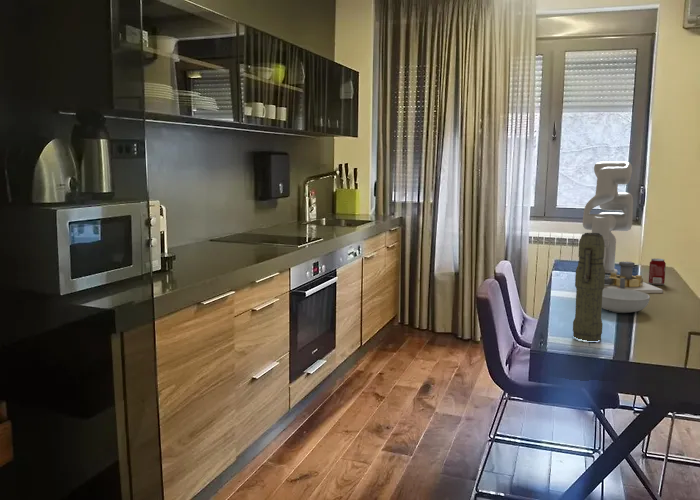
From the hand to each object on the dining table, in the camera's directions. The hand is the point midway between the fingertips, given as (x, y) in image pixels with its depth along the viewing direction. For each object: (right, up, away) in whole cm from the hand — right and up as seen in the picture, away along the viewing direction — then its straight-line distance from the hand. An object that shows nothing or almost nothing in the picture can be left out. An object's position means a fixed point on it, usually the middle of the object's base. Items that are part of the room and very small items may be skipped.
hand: (598, 282), depth 275 cm
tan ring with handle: (+7, -1, -2) cm, 7 cm away
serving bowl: (-10, -9, -43) cm, 45 cm away
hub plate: (+12, -3, -1) cm, 12 cm away
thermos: (-38, -15, -81) cm, 90 cm away
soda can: (+30, -2, +6) cm, 31 cm away
